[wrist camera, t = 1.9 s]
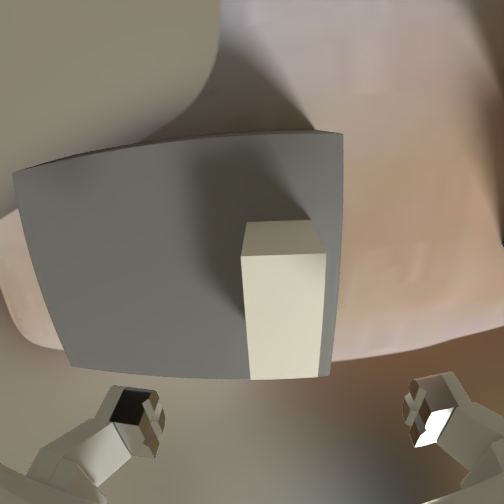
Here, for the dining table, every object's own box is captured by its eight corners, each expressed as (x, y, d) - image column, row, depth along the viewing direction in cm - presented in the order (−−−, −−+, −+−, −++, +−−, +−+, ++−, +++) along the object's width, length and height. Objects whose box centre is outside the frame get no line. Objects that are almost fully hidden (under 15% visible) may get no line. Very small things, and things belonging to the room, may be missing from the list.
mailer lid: (18, 171, 15) (-35, 189, 11) (340, 133, 14) (371, 138, 9) (74, 361, 20) (47, 403, 16) (328, 369, 19) (339, 424, 15)
